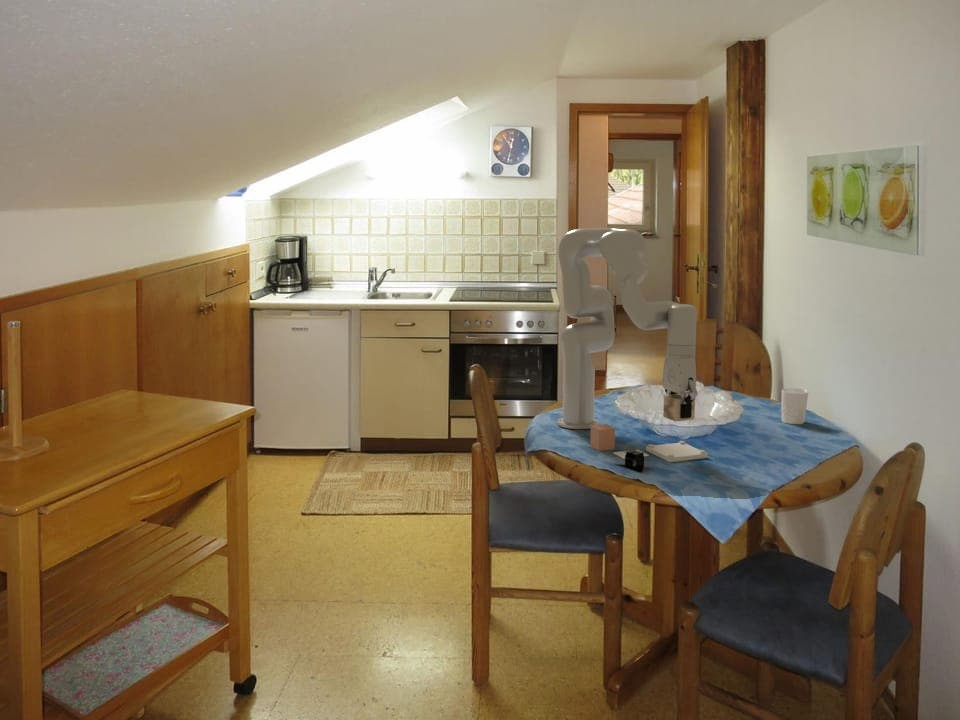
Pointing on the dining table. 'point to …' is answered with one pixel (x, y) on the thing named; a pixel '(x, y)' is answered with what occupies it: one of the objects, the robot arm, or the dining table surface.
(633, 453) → the dark stepped block
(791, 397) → the white cup
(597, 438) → the terracotta brick
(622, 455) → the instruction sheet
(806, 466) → the dining table surface
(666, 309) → the robot arm
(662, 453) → the plate
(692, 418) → the beech brick
